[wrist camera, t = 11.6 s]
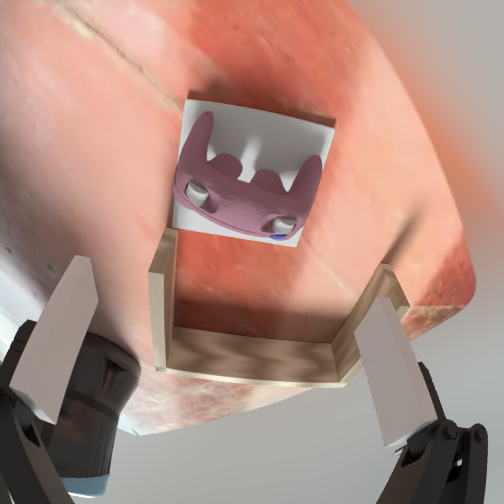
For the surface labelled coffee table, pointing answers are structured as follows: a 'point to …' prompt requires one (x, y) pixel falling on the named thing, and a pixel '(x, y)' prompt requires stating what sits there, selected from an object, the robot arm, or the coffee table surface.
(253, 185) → the video game controller
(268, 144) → the pad
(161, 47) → the coffee table surface
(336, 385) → the bay
